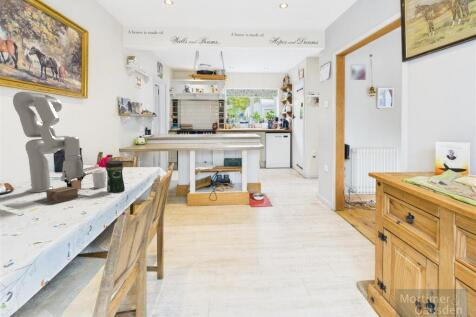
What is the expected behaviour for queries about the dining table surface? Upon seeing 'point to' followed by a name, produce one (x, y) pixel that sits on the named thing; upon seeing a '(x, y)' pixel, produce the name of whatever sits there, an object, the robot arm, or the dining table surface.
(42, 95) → the robot arm
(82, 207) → the dining table surface
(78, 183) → the terracotta cube
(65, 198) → the walnut base block
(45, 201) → the charcoal board
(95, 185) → the white cup
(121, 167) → the coffee jar
